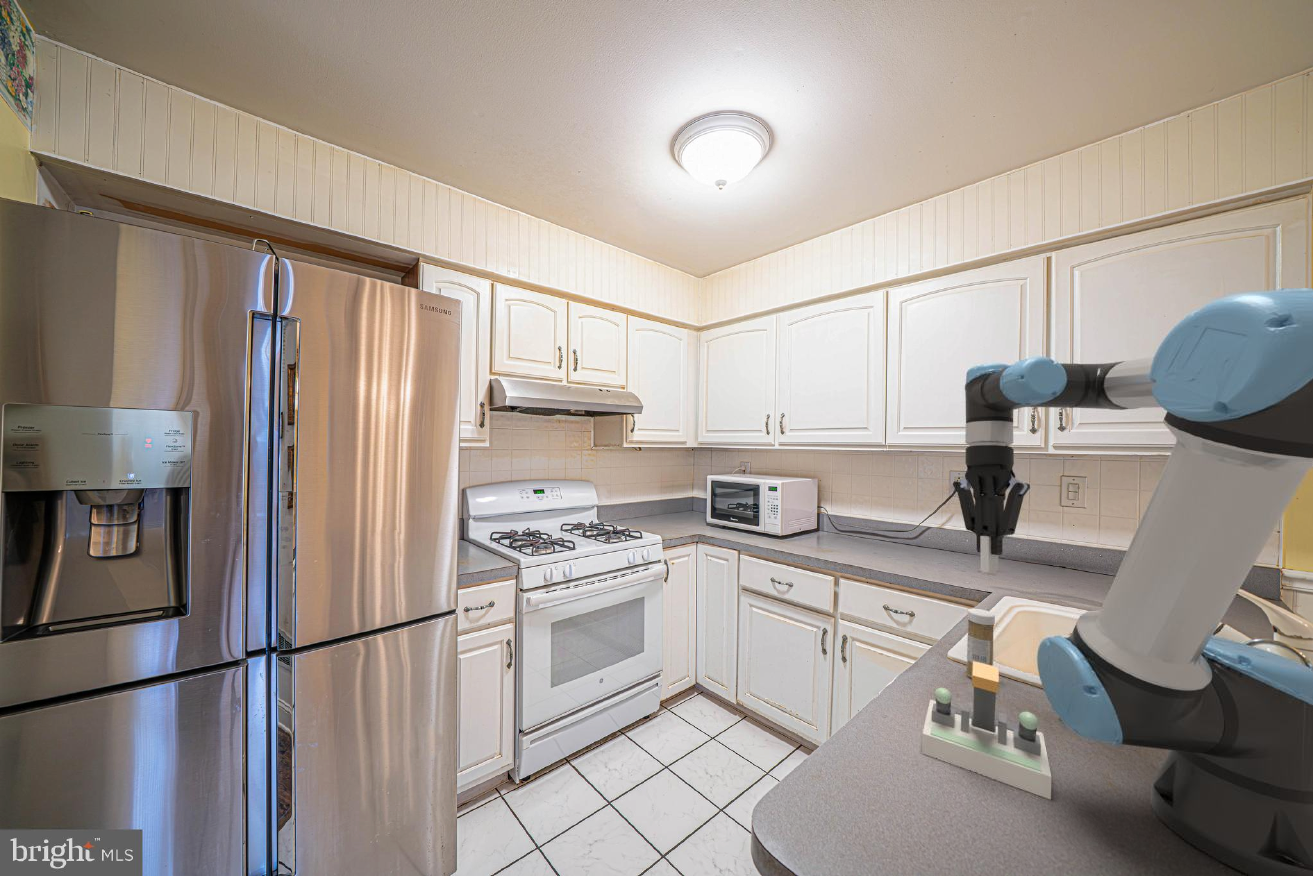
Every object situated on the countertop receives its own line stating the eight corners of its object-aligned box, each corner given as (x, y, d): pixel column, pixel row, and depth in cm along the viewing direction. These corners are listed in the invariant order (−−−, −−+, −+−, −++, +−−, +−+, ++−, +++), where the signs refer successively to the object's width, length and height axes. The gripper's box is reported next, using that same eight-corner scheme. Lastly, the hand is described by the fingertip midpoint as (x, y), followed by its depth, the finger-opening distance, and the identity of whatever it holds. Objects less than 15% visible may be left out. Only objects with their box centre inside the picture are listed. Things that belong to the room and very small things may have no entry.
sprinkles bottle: (996, 680, 95) (999, 613, 95) (986, 686, 92) (989, 617, 92) (971, 670, 99) (973, 606, 99) (961, 675, 96) (963, 610, 96)
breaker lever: (995, 722, 72) (998, 667, 66) (995, 737, 70) (998, 682, 65) (971, 715, 74) (973, 661, 68) (971, 730, 72) (972, 675, 67)
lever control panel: (1042, 752, 72) (1043, 693, 72) (1050, 799, 62) (1052, 731, 63) (929, 716, 81) (931, 664, 81) (921, 753, 71) (923, 693, 71)
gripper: (1039, 446, 85) (1041, 579, 83) (968, 449, 97) (968, 565, 95) (1013, 442, 83) (1014, 579, 80) (943, 445, 95) (942, 565, 92)
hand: (989, 571), depth 88 cm, fingers closed
